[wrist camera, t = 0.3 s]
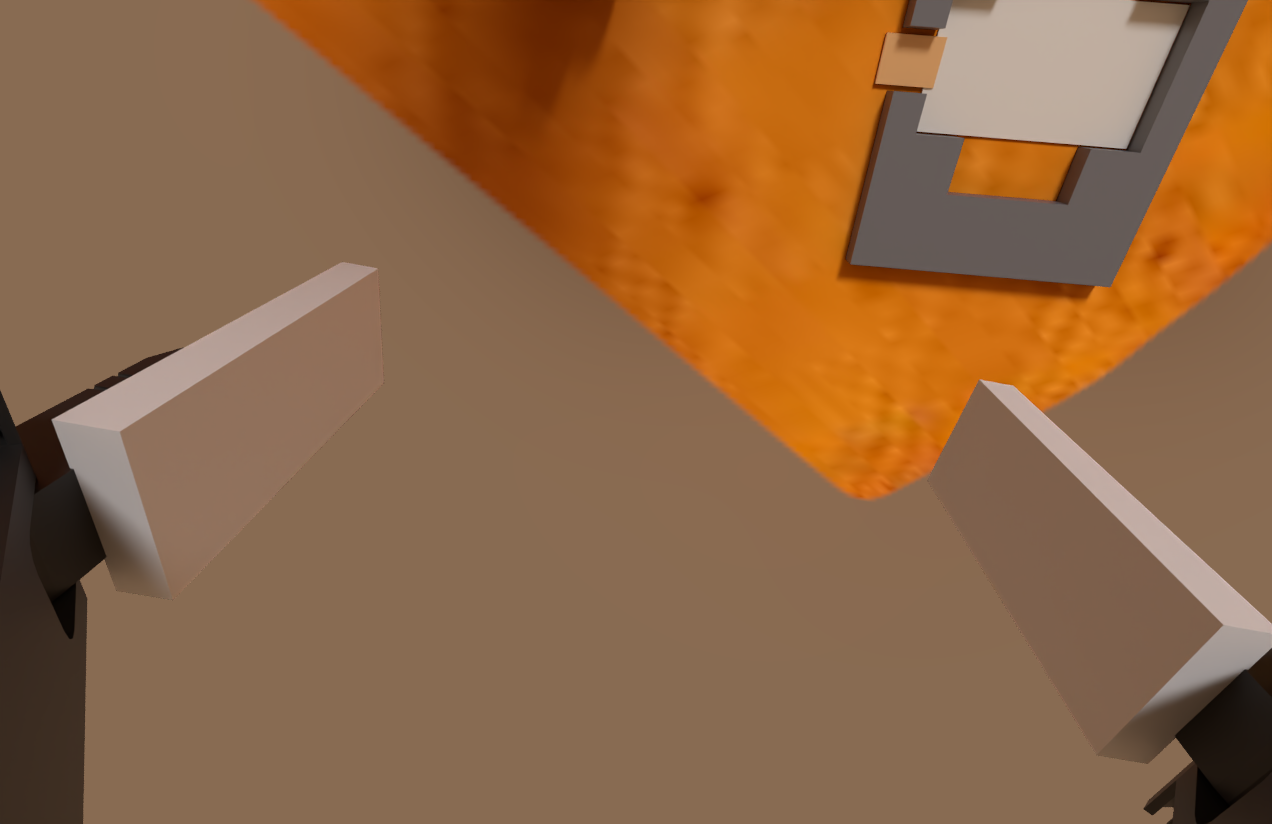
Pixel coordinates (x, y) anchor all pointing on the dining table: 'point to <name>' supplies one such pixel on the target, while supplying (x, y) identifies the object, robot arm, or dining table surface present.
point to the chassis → (1032, 129)
